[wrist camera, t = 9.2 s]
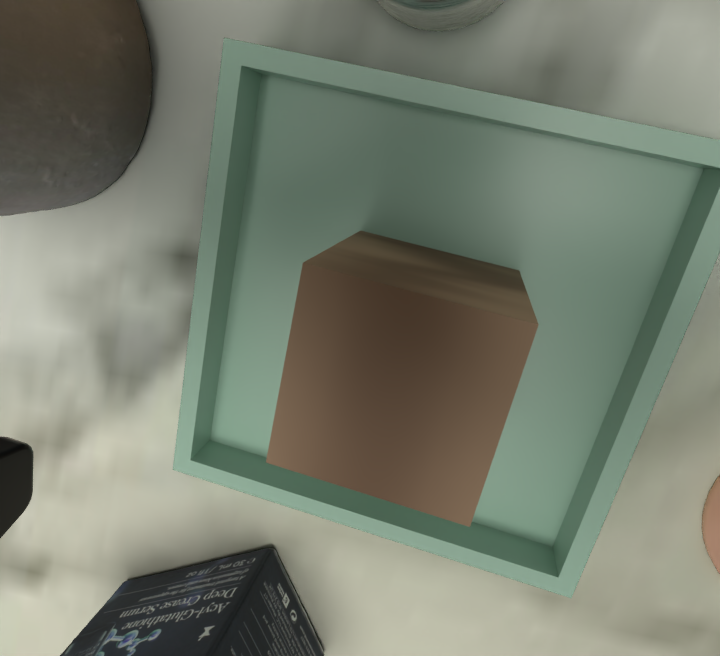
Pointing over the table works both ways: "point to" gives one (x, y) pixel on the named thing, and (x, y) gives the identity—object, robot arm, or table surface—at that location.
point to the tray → (461, 237)
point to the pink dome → (712, 524)
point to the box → (204, 613)
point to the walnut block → (401, 372)
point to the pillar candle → (69, 99)
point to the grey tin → (439, 12)
